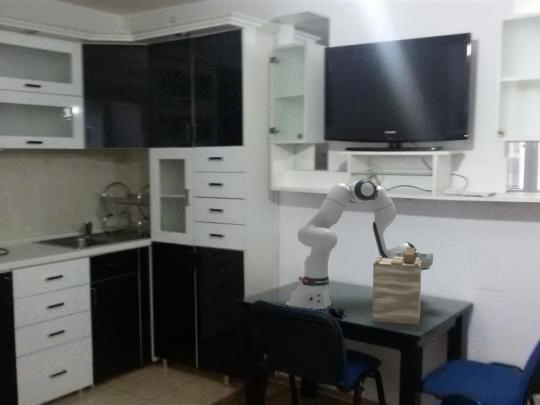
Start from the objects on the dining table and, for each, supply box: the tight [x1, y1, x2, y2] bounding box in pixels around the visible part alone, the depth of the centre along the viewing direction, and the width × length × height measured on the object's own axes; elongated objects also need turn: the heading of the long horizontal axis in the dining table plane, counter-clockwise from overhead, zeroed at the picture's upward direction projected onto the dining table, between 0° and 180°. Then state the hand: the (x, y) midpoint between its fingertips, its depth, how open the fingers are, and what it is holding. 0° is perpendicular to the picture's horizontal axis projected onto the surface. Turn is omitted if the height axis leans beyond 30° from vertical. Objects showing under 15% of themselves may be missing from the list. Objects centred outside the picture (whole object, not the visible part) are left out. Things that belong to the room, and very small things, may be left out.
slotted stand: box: [371, 254, 422, 326], centre depth 255 cm, size 16×20×27 cm
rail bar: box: [404, 247, 417, 264], centre depth 258 cm, size 20×4×4 cm, turn 163°
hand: (410, 252), depth 263 cm, fingers closed on rail bar, 4 cm apart
